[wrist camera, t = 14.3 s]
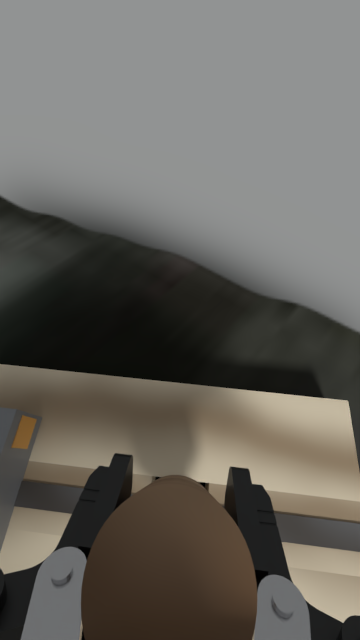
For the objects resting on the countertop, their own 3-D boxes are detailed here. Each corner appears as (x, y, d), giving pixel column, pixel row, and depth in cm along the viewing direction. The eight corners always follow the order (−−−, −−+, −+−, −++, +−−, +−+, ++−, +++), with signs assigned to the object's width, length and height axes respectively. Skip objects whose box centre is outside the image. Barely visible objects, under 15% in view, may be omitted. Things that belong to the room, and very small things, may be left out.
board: (410, 1041, 10) (479, 1216, 8) (-211, 906, 11) (-312, 1020, 9) (329, 407, 20) (348, 400, 18) (3, 372, 21) (-19, 361, 19)
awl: (208, 559, 15) (259, 735, 5) (136, 548, 16) (57, 701, 6) (212, 476, 17) (256, 494, 7) (147, 468, 17) (103, 475, 7)
